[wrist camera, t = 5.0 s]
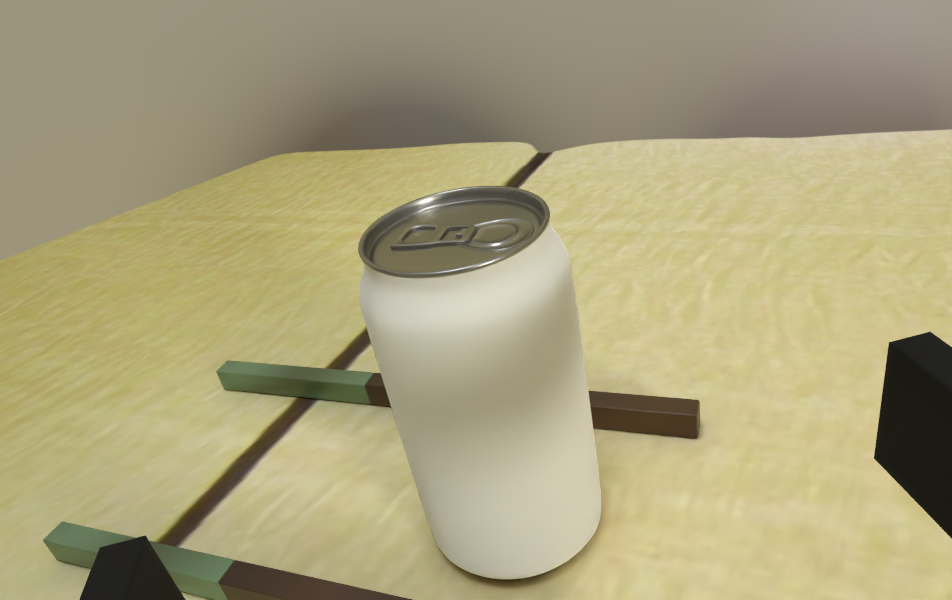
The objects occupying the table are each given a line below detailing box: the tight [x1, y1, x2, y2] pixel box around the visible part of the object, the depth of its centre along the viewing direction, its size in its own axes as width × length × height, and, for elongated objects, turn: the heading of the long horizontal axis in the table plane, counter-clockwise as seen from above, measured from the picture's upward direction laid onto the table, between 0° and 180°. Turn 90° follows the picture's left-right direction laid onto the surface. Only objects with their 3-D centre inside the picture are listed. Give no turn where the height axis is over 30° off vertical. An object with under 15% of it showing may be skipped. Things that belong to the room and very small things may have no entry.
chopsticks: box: [43, 361, 700, 600], centre depth 28 cm, size 24×12×1 cm, turn 70°
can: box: [358, 186, 602, 579], centre depth 23 cm, size 6×6×12 cm
